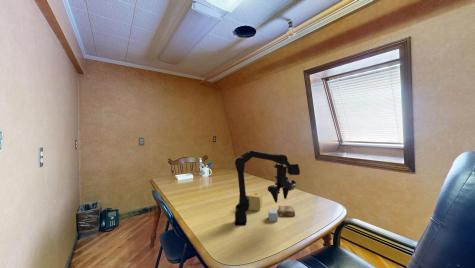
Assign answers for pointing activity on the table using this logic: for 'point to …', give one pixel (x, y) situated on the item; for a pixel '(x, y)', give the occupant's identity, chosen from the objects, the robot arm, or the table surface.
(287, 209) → the pedestal
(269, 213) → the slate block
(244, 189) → the robot arm
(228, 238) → the table surface
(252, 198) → the cheese
